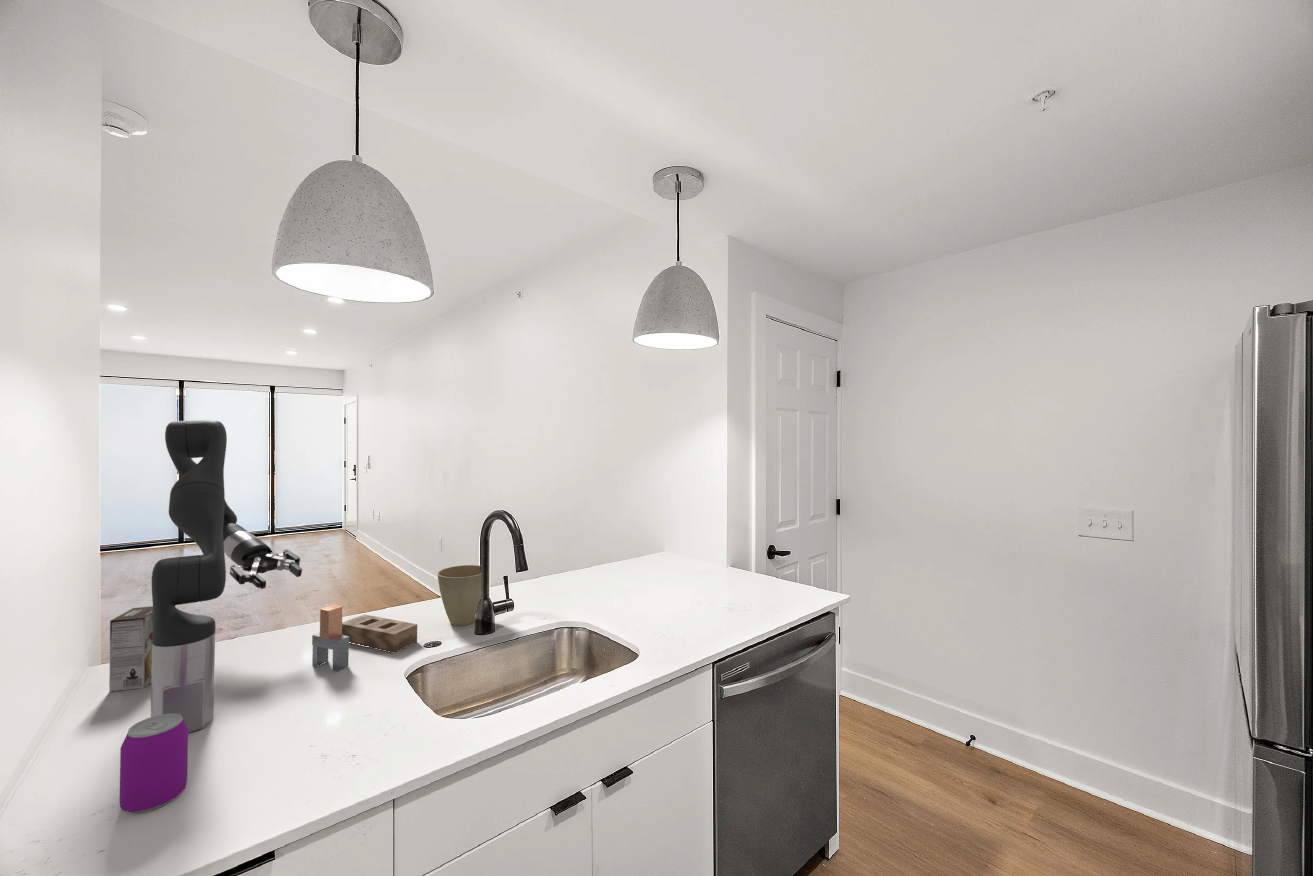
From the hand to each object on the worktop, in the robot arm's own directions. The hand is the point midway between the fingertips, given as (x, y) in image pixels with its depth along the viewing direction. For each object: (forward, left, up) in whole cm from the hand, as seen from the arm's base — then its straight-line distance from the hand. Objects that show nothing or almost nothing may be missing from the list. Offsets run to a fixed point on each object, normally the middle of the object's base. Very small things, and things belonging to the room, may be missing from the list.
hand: (282, 579), depth 133 cm
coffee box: (+5, +26, -20) cm, 34 cm away
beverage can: (-50, +21, -20) cm, 58 cm away
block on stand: (-13, -9, -20) cm, 26 cm away
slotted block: (-4, -22, -20) cm, 30 cm away
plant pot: (-3, -46, -20) cm, 50 cm away
